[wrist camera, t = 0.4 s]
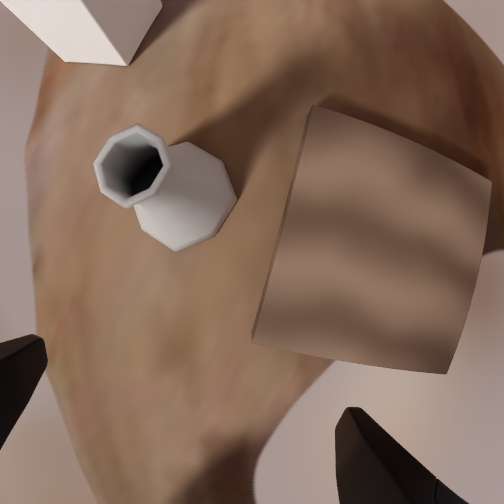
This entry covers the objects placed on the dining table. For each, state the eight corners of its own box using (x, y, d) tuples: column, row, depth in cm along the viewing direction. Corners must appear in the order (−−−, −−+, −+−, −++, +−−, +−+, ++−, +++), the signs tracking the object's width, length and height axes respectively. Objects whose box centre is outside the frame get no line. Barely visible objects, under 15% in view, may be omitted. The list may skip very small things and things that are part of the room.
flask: (115, 192, 21) (32, 164, 11) (191, 126, 21) (154, 52, 11) (175, 270, 21) (118, 297, 11) (256, 202, 21) (264, 172, 11)
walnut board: (434, 366, 22) (446, 374, 20) (251, 333, 21) (252, 342, 19) (477, 184, 21) (491, 181, 19) (307, 115, 21) (313, 104, 19)
